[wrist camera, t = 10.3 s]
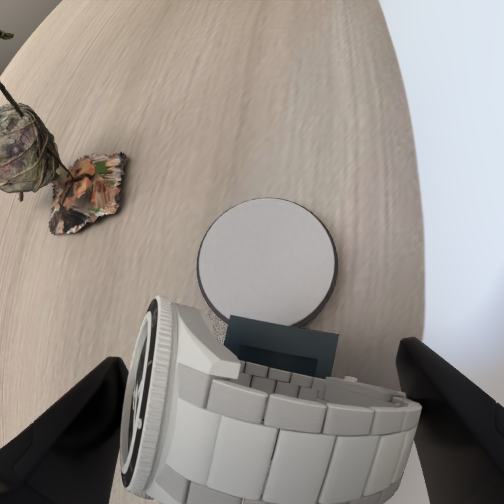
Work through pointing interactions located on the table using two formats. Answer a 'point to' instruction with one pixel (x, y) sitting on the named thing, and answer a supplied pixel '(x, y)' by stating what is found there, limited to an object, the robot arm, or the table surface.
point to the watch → (255, 417)
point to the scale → (267, 263)
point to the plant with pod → (54, 169)
